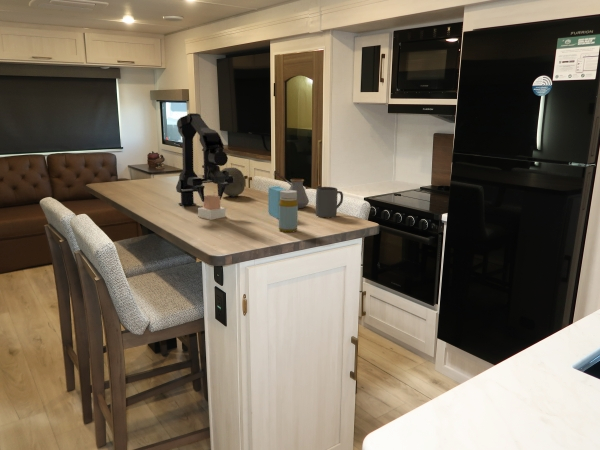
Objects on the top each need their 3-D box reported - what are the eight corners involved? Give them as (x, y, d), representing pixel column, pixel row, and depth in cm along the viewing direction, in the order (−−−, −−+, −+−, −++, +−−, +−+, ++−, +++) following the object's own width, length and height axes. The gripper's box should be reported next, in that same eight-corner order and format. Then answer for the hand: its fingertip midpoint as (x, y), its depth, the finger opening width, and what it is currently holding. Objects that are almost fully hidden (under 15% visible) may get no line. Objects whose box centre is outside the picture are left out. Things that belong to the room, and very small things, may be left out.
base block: (198, 217, 197) (197, 208, 196) (212, 214, 203) (212, 205, 202) (211, 220, 192) (210, 210, 191) (225, 217, 199) (225, 207, 198)
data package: (288, 218, 197) (288, 190, 194) (278, 219, 195) (278, 190, 192) (277, 212, 208) (278, 185, 205) (268, 213, 206) (268, 186, 203)
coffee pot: (313, 207, 221) (314, 175, 218) (296, 210, 213) (297, 177, 210) (283, 200, 236) (283, 170, 232) (265, 203, 228) (265, 172, 224)
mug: (324, 219, 198) (325, 190, 195) (311, 215, 205) (312, 187, 202) (348, 215, 205) (350, 188, 203) (335, 211, 213) (336, 185, 210)
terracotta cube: (203, 207, 197) (203, 195, 196) (214, 206, 200) (214, 194, 199) (209, 209, 194) (209, 197, 192) (220, 208, 197) (220, 196, 195)
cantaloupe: (242, 193, 252) (241, 165, 248) (247, 198, 239) (247, 168, 235) (215, 194, 248) (214, 166, 244) (219, 199, 235) (219, 169, 231)
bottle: (278, 228, 181) (278, 189, 178) (296, 228, 182) (297, 189, 178) (279, 232, 174) (279, 192, 171) (297, 232, 175) (298, 192, 171)
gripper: (198, 166, 181) (199, 206, 184) (240, 164, 192) (240, 201, 196) (186, 163, 189) (187, 201, 193) (227, 161, 200) (227, 197, 204)
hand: (211, 200), depth 196 cm, fingers open, 7 cm apart
